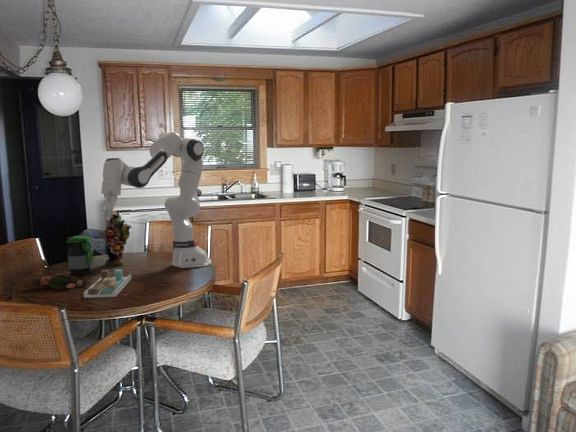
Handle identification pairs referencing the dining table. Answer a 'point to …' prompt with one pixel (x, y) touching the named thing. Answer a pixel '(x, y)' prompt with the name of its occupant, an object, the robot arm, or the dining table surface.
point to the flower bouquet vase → (116, 240)
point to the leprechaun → (59, 281)
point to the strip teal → (118, 281)
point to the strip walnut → (99, 283)
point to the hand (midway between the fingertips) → (108, 219)
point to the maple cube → (109, 282)
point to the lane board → (115, 292)
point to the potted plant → (79, 254)
